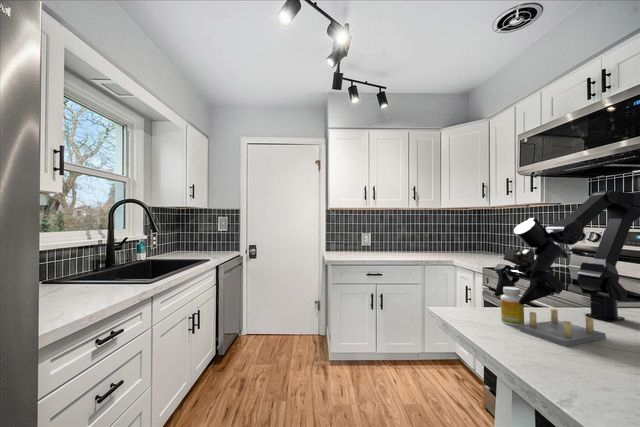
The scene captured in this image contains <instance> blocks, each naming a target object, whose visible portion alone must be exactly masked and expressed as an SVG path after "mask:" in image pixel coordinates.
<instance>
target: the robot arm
mask: <svg viewBox="0 0 640 427" xmlns="http://www.w3.org/2000/svg"><path fill="white" fill-rule="evenodd" d="M604 211H606V212H607V214H608V217H609V219H608V221H607V223H606V227H605V230H604V231H603V233H602V236H601V239H600V242H599V244H598V247H597V250H596V251H595V255H594V257H593V259H592V260H591V261H589V262H585V261H584V262H581V264H580V267H579V270H578V272H576V275H577V279H576V280H577V283H578V285H579V288H580V290H581V293H582V294H583V295H588V296H589V295H590V296H589V298H590V300H589V301H590V302H589V304H590V312H588V313H584V316H585V317H590V318H593V319H598V320H601V321H602V320H603V321H607V322H612V323H613V322H617V321H624V320H625V319H626V318H625V317H624V316H619V312H618V310H619V309H618V308H619V305H618V301H624V300H627V298H628V291H627V290H626V289H625V288H624V286H622V284H621V283H620V282H619V280H620V273H619V272H618V269H617V264H618V260H619V259H620V255H621V254H622V250H623V248H624V245H625V243H626V240H627V237H628V234H629V233H630V229H631V227H632V224H633V223H635V221H636V220H638V219H640V191H632V192H631V191H630V192H626V191H616V190H611V189H610V190H601V191H595V192H593V193H592V194H590V197H589V198H588V199H586V200H585V201H584V202H582V204H581V205H579V206H578V207H577V208H576V209H575V210H574V211H573V212H571V213H570V214H569V215H568V216H566V217H565V218H563V219H560V220H556V221H554V222H552V223H551V224H548V226H546V227H544V226H543V225H542V224H541V223H540V222H539V220H538V219H537V218H536V217H529V218H528V219H527V220H525V221H523V222H521V223H519V224H518V225H516V226H515V227H514V230H513V232H514V234H515V235H516V236H517V237H518V238H519V239H520V240H521V242H523V243H524V245H526V246H527V247H528V248H533V249H523V250H518V249H514V248H513V249H512V248H507V249H506V250H505V253H504V255H503V260H504V261H507V262H509V263H512V264H513V265H512V266H513V267H514V268H515V269H517V270H515V269H514V268H513V267H512V266H511V265H510V264H505V263H498V264H496V266H495V267H494V268H493V269H494V271H495V273H496V274H497V276H498V280H497V285H496V288H495V290H494V293H493V295H494V296H495V297H497V298H498V297H499V296H500V297H501V296H502V295H504V293H503V287H515V286H516V283H518V282H519V281H520V280H524V281H526V282H529V285H528V287H527V288H526V290H525V292H524V293H523V295H521V299H520V300H519V303H520V304H521V305H524V306H525V305H526V304H528V303H531V302H533V301H534V302H535V301H537V300H539V299H542V298H545V297H549V296H554V295H561V293H562V292H563V291H564V284H563V282H562V281H561V280H560V279H559V278H558V277H557V275H555V274H554V273H553V272H552V271H553V270H554V268H552V266H553V264H554V263H555V262H556V261H557V259H558V258H559V259H568V258H569V255H568V253H567V249H566V248H562V247H561V246H560V245H563V246H564V245H565V246H572V245H575V244H577V243H578V242H579V240H580V239H581V238H582V236H583V235H584V234H585V233H584V231H585V230H584V229H585V228H586V226H588V225H589V224H591V222H592V221H593V220H595V219H596V218H597V217H599V215H601V214H602V213H603V212H604Z"/></svg>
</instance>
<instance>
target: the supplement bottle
mask: <svg viewBox="0 0 640 427" xmlns="http://www.w3.org/2000/svg"><path fill="white" fill-rule="evenodd" d="M520 295H521V289H520V288H519V287H515V286H513V287H503V294H502V295H500V315H501V320H500V321H501V322H502V323H503V324H504V325H508V326H514V327H519V326H523V325H525V307H524V306H525V304H524V305H521V304H520V303H519V300H520V299H521V297H522V295H521V296H520Z"/></svg>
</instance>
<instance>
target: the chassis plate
mask: <svg viewBox="0 0 640 427" xmlns="http://www.w3.org/2000/svg"><path fill="white" fill-rule="evenodd" d="M558 314H559V313H558V309H555V308H550V320H548V321H541V322H537V312H534V311H529V324H524V325H522V326H518V328H519V331H520V332H523V333H525V334H528V335H531V336H534V337H537V338H539V339H543V340H546V341H547V342H551V343H555V344H557V345H560V346H563V347H566V348H567V347H571V346H572V347H573V346H576V345H581V343H582V344H585V343H591V342H596V341H600V340H604V339H606V338H607V337H606V336H607V335H606V333H605V332H602V331H598V330H595V327H594V317H589V316H585V327H583V326H580V325H577V324H576V325H575V324H573V323H572V322H571V321H570V320H569V321H568V320H563V321H562V320H559V318H558Z"/></svg>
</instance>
